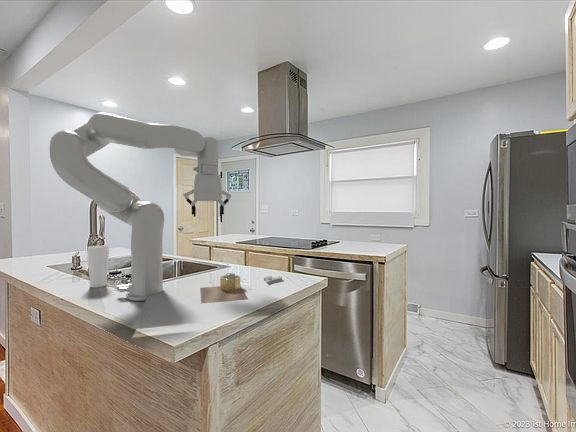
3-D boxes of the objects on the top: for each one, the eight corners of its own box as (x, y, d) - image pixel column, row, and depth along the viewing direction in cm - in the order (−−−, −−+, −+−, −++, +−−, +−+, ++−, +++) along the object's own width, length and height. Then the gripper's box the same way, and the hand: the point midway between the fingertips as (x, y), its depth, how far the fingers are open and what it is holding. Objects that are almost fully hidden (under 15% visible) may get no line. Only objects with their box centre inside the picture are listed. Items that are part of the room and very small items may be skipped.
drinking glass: (90, 284, 116) (90, 245, 115) (110, 283, 118) (110, 245, 117) (85, 289, 109) (84, 247, 109) (106, 288, 111) (105, 247, 111)
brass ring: (221, 291, 102) (221, 279, 101) (219, 286, 108) (219, 275, 108) (240, 290, 103) (241, 278, 103) (238, 285, 110) (238, 274, 110)
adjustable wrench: (248, 296, 104) (248, 291, 103) (233, 293, 107) (233, 288, 107) (284, 280, 125) (284, 276, 125) (270, 278, 129) (270, 274, 128)
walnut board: (201, 308, 89) (201, 303, 89) (200, 291, 107) (200, 287, 107) (248, 304, 94) (248, 299, 93) (240, 289, 111) (240, 284, 111)
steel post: (226, 290, 104) (226, 275, 104) (225, 287, 107) (225, 273, 107) (235, 289, 105) (235, 274, 104) (234, 287, 108) (234, 273, 108)
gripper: (183, 168, 108) (183, 217, 108) (232, 170, 113) (232, 216, 113) (183, 171, 115) (184, 216, 115) (230, 173, 120) (230, 216, 121)
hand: (207, 216), depth 114 cm, fingers open, 9 cm apart
